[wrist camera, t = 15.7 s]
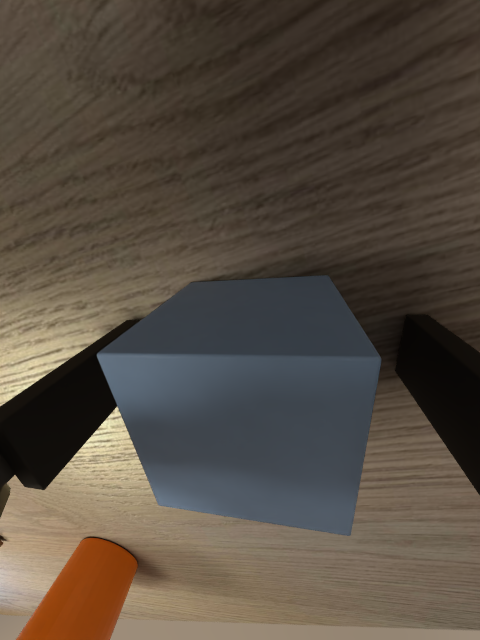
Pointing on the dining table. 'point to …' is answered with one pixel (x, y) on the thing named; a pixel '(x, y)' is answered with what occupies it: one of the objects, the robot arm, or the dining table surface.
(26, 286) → the dining table surface
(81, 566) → the shaker bottle
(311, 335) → the blue block
